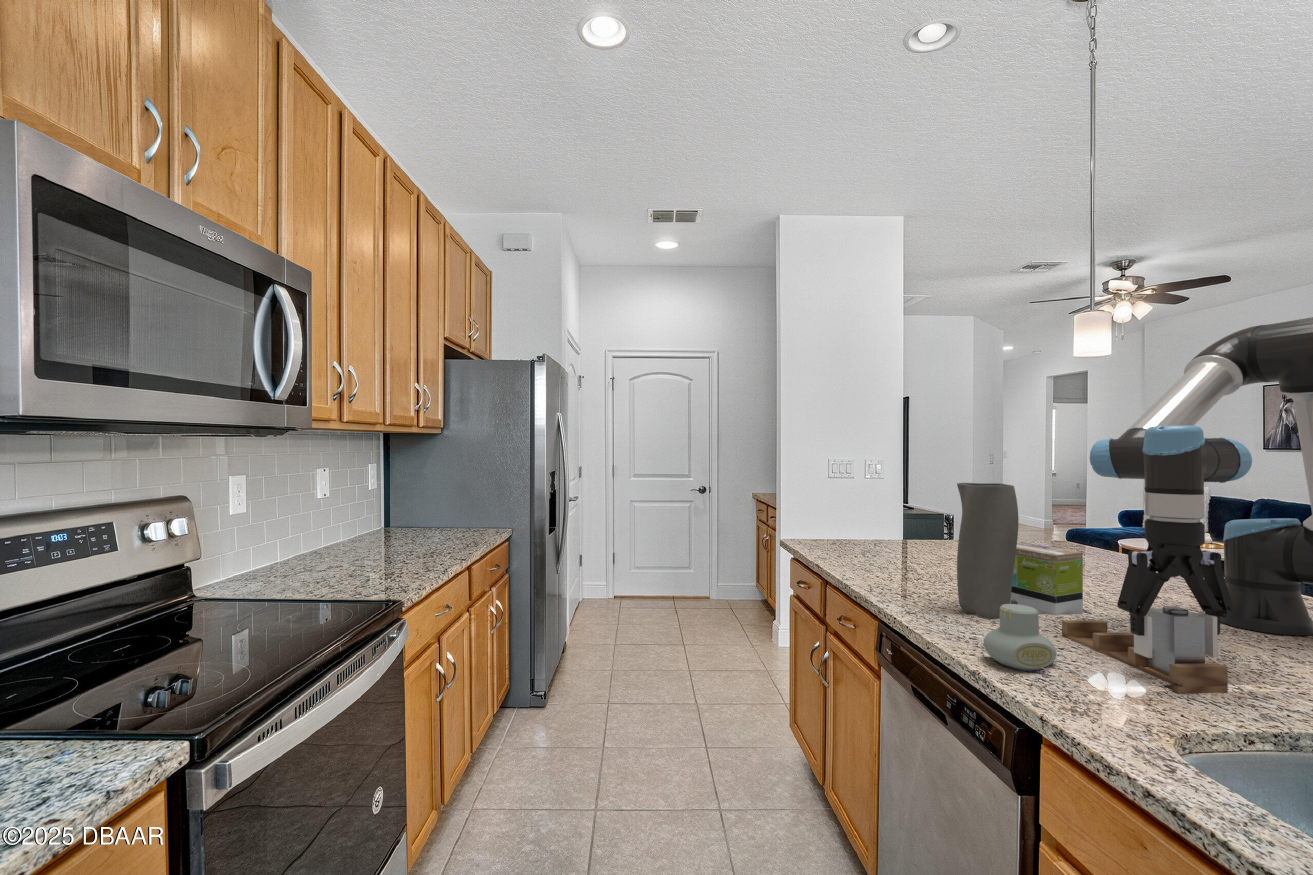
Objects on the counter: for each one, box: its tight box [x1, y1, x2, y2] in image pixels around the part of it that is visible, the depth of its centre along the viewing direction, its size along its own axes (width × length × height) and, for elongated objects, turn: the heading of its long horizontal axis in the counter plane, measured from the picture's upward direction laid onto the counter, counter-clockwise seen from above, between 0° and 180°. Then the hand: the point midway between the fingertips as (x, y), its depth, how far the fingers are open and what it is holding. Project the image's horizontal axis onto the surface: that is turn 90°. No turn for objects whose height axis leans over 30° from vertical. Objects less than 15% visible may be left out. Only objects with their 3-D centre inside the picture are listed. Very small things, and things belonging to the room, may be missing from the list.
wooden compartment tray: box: [1061, 619, 1229, 694], centre depth 106 cm, size 8×26×4 cm, turn 2°
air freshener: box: [983, 604, 1057, 672], centre depth 106 cm, size 11×8×10 cm
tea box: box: [1010, 541, 1084, 616], centre depth 143 cm, size 15×10×15 cm
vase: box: [956, 482, 1019, 620], centre depth 136 cm, size 12×12×30 cm
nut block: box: [1148, 605, 1206, 677], centre depth 99 cm, size 5×5×11 cm
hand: (1175, 654), depth 99 cm, fingers open, 10 cm apart
